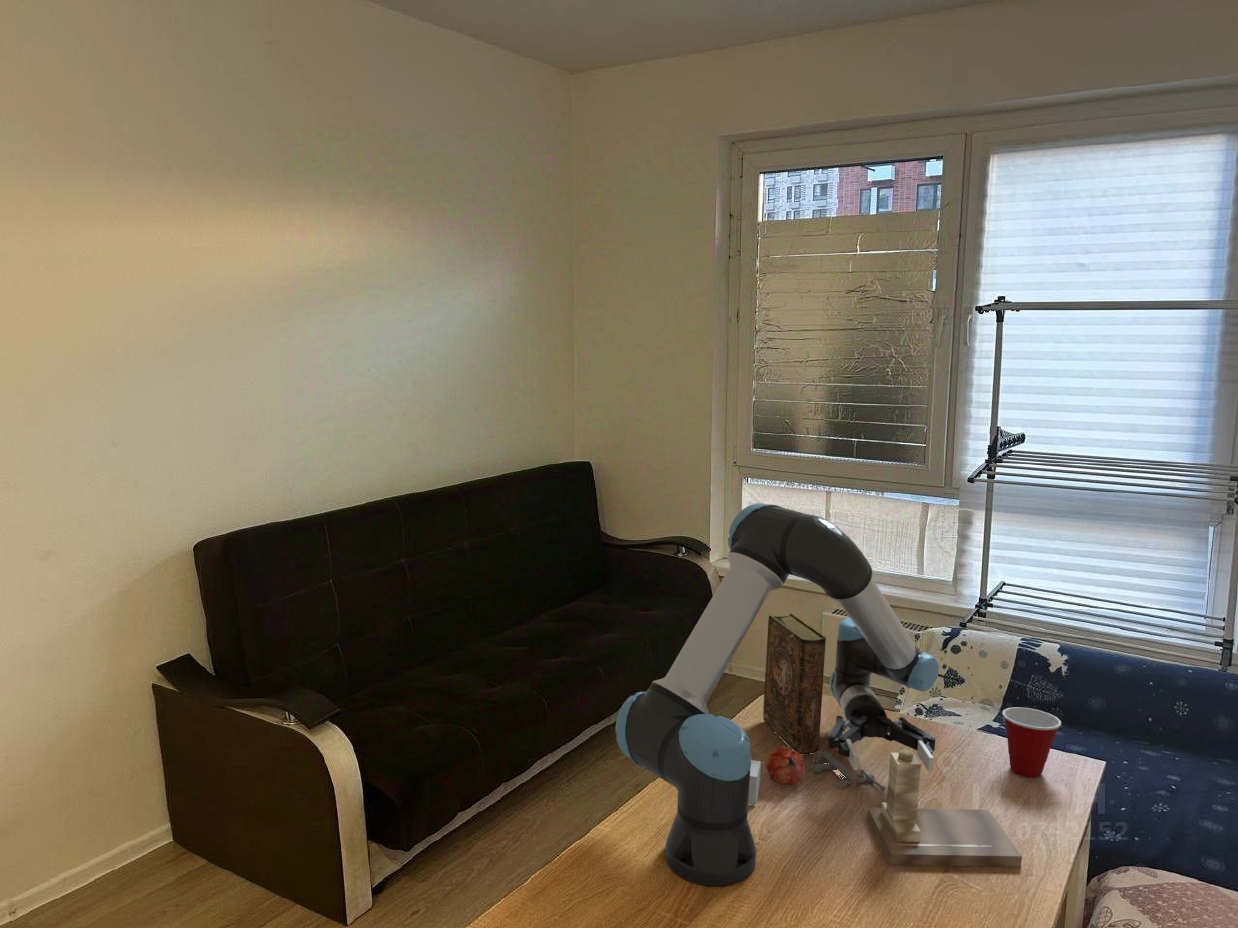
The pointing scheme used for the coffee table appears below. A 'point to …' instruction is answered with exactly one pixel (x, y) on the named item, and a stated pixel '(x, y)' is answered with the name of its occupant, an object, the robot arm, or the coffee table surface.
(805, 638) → the book
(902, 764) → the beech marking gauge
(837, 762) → the clamp
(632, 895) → the coffee table surface
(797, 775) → the pomegranate
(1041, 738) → the plastic cup
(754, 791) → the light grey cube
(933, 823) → the grey flat plate
